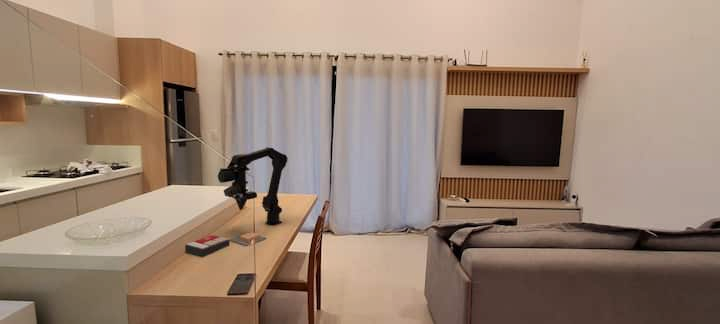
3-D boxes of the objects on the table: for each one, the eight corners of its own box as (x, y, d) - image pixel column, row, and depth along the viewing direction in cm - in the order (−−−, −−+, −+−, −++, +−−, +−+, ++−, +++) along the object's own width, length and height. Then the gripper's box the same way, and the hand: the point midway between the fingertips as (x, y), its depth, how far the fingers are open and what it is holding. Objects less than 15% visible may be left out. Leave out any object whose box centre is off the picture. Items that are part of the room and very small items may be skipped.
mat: (248, 233, 172) (248, 232, 172) (266, 238, 165) (266, 237, 165) (228, 240, 162) (228, 239, 162) (246, 246, 155) (246, 245, 155)
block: (251, 232, 167) (259, 234, 164) (251, 235, 167) (259, 238, 164) (239, 236, 161) (247, 238, 158) (239, 240, 161) (248, 242, 158)
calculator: (229, 238, 156) (202, 247, 142) (229, 247, 156) (202, 257, 143) (212, 234, 161) (184, 243, 147) (212, 243, 161) (184, 252, 147)
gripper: (214, 180, 168) (215, 210, 170) (238, 184, 158) (239, 216, 160) (233, 176, 177) (234, 205, 179) (257, 181, 167) (258, 211, 169)
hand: (240, 209), depth 172 cm, fingers closed
